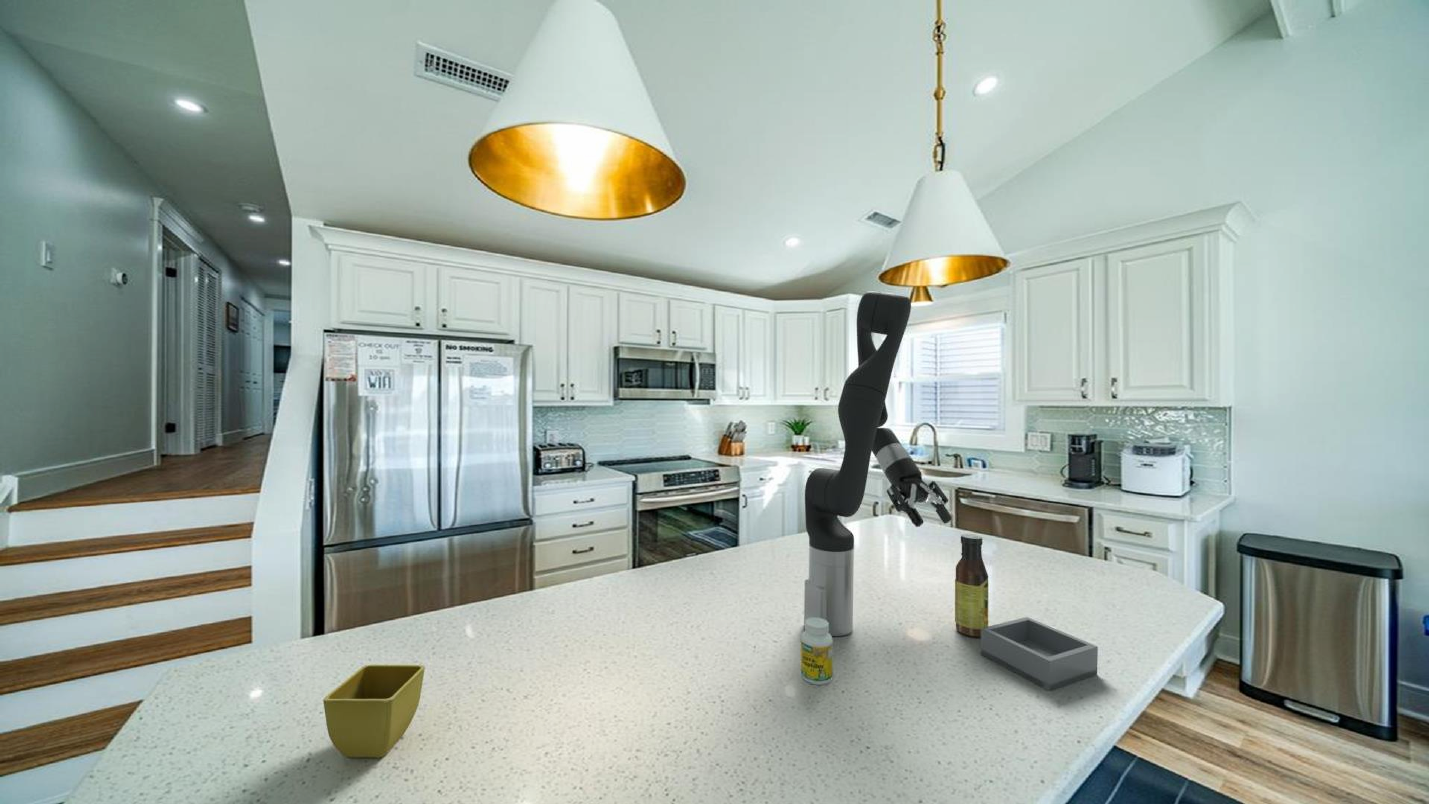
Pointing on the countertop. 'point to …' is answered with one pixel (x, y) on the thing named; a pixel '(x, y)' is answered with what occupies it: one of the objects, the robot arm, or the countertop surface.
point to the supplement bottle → (816, 652)
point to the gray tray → (1039, 652)
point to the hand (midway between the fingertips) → (934, 523)
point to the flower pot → (373, 708)
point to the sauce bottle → (971, 588)
